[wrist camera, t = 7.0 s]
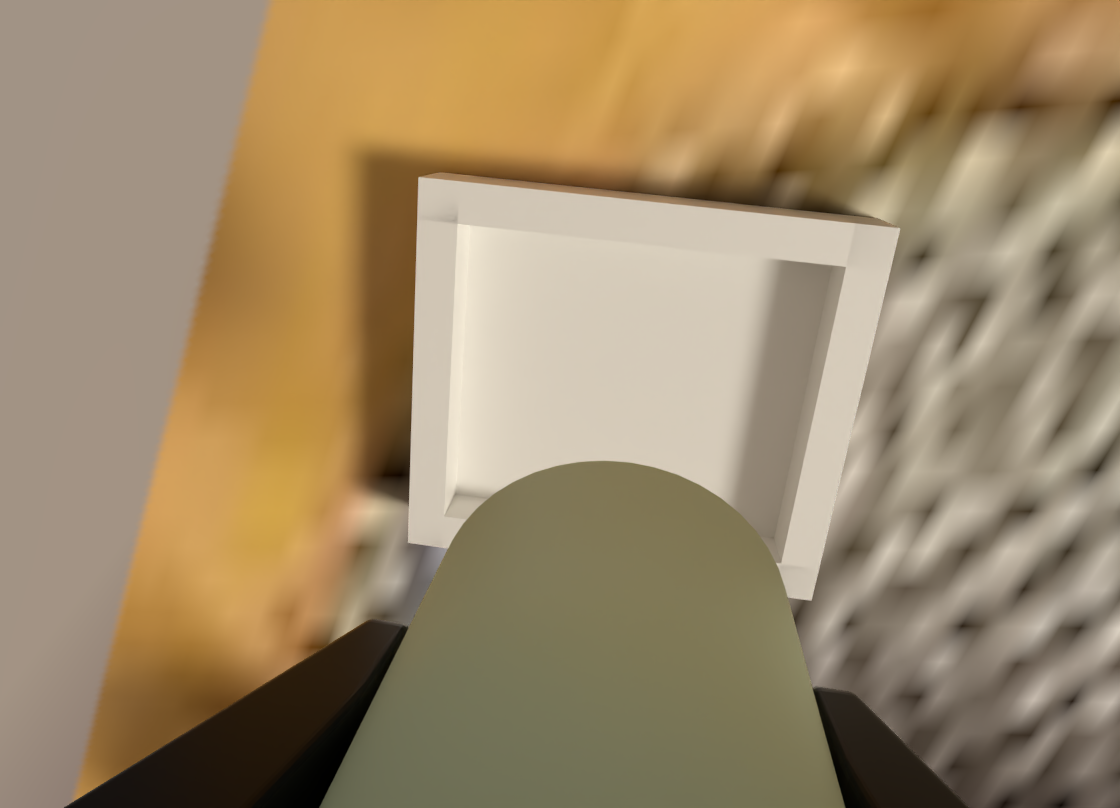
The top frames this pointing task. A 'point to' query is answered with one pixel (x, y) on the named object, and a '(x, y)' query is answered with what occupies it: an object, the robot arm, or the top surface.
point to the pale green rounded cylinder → (597, 661)
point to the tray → (640, 348)
